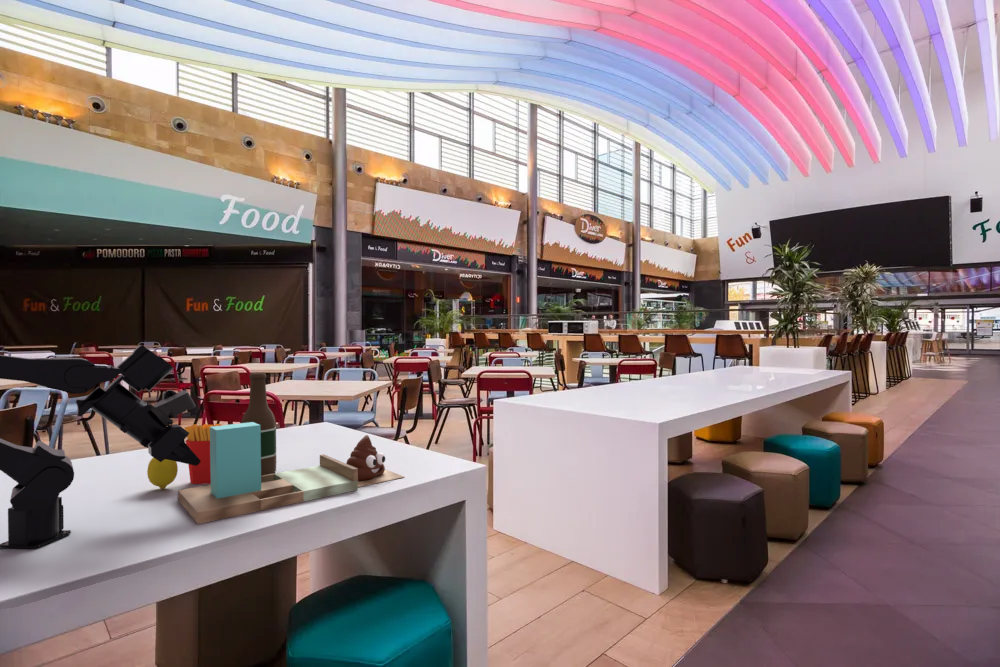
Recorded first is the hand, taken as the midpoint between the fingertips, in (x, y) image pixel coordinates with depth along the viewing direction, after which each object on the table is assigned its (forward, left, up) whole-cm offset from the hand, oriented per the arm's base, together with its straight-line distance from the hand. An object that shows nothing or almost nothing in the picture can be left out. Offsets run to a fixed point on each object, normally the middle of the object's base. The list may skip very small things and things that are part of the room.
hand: (198, 463), depth 102 cm
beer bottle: (+24, +2, -9) cm, 26 cm away
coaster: (+23, -24, -9) cm, 35 cm away
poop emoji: (+23, -24, -9) cm, 35 cm away
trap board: (+9, -9, -9) cm, 16 cm away
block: (+5, -5, -7) cm, 9 cm away
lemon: (+12, +17, -9) cm, 23 cm away
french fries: (+18, +11, -9) cm, 23 cm away
